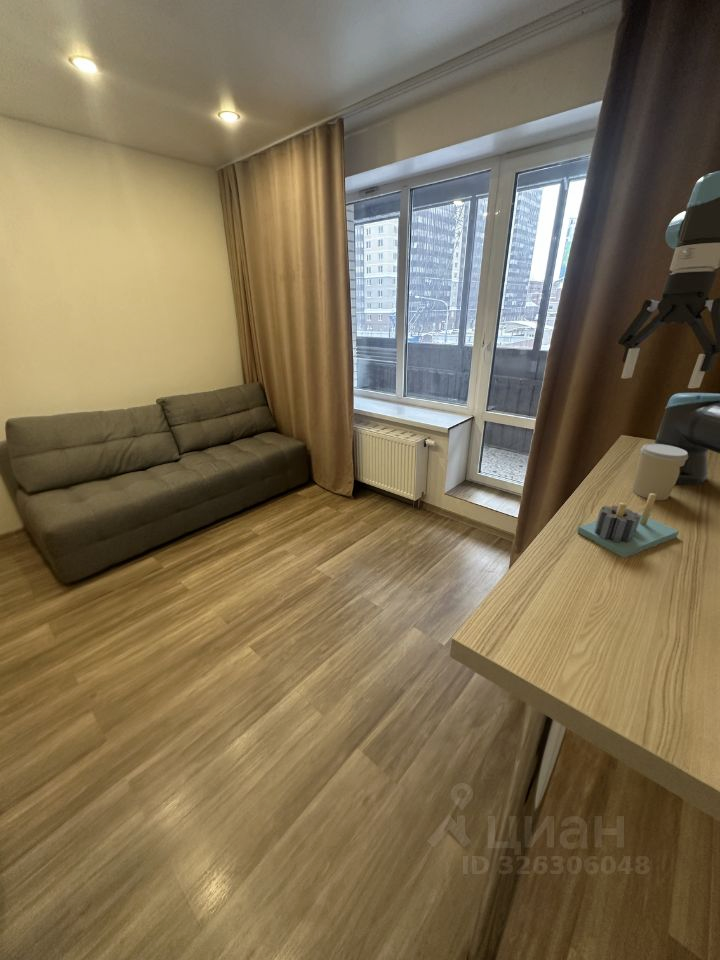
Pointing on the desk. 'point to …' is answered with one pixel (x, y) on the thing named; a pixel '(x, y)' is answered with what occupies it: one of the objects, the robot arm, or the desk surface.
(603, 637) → the desk surface
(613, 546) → the carrier
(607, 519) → the gear
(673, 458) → the coffee cup
